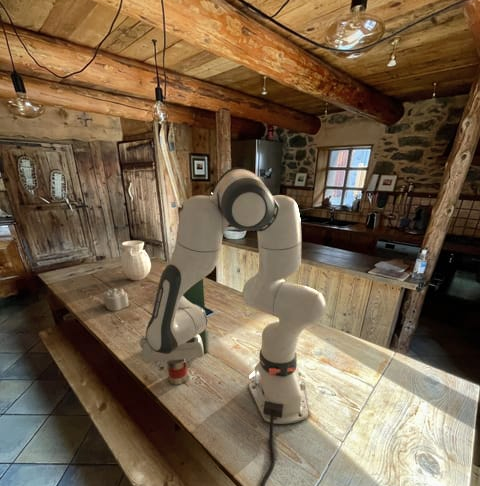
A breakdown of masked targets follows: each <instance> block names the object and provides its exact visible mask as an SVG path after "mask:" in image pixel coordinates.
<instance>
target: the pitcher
mask: <svg viewBox="0 0 480 486" xmlns="http://www.w3.org/2000/svg"><path fill="white" fill-rule="evenodd" d="M121 245H122V248H123V249H124V252H122V254H121V255H120V258H121V268H122V272H123V273H124V275H125V276H126V277H127V278H129V279H130V280H132V281H141V280H144V279H145V278H146V277H147V276H148V275H149V273H150V271H151V269H152V264H151V259H150V256H149V254H148V253H147V252H146V249H144V245H145V241H143V240H128V241H127V240H126V241H124V242H121Z"/></svg>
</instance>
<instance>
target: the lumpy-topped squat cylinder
mask: <svg viewBox="0 0 480 486" xmlns="http://www.w3.org/2000/svg"><path fill="white" fill-rule="evenodd" d="M128 297H129V296H128V293H127V292H126V291H125V290H124V289H123V288H111V289H108V290H106V291H105V292H103V299H104V304H105V307H106V309H107V310H109V311H112V312H117V311H120V310H122V309H125V308H128V307H129V305H130V303H129V298H128Z"/></svg>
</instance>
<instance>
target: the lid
mask: <svg viewBox="0 0 480 486" xmlns="http://www.w3.org/2000/svg"><path fill="white" fill-rule="evenodd" d="M204 286H205V285H204V278H203V279H201V280H200V281H198V282H197V283H195V284H194V285H193V286H192V287H190V288H189V289H188V290H187V291H186V292H185V293H184V295H183V296H184V297H185V298H186V299H187V300H188V301H189V302H191V303H193V304H196V305H198V306H200V307H201V308H203V309H204V310H206V307H205V306H206V303H205V289H204Z"/></svg>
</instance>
